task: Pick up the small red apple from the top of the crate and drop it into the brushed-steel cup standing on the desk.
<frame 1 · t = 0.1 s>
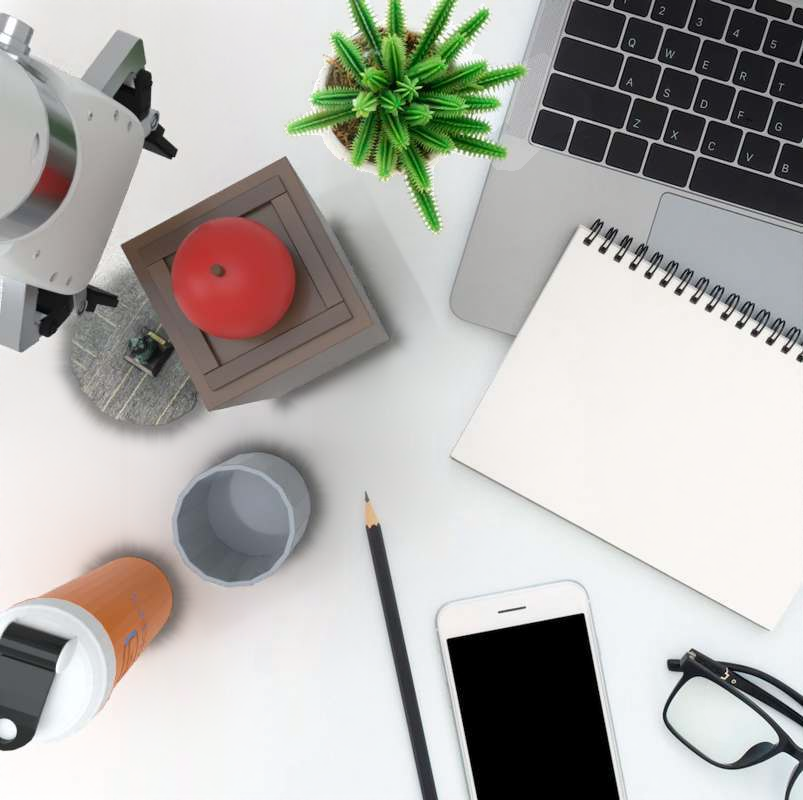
hand: (124, 220, 51), 17 cm above the table, tool pointing down, fingers open, 9 cm apart
steel cup: (257, 505, 69), on the table
apple: (246, 284, 44), point 24 cm above the table, touching crate
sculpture: (145, 351, 69), on the table
shaker bottle: (131, 597, 70), on the table
crate: (307, 313, 68), on the table
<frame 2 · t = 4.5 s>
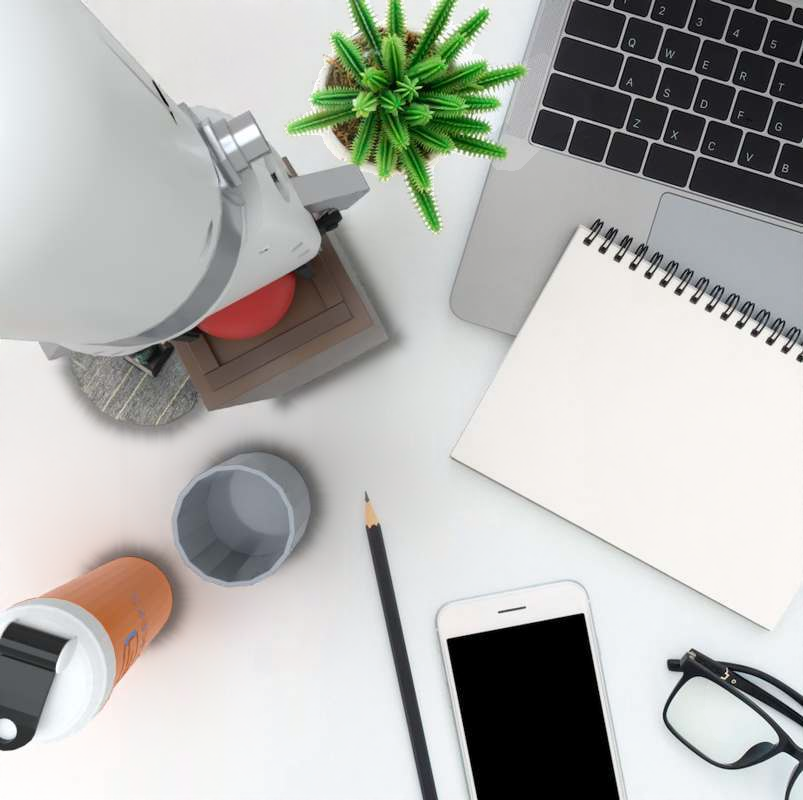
hand: (239, 281, 43), 26 cm above the table, tool pointing down, fingers closed on apple, 6 cm apart
apple: (246, 284, 44), point 24 cm above the table, touching gripper, crate
everything else where it was.
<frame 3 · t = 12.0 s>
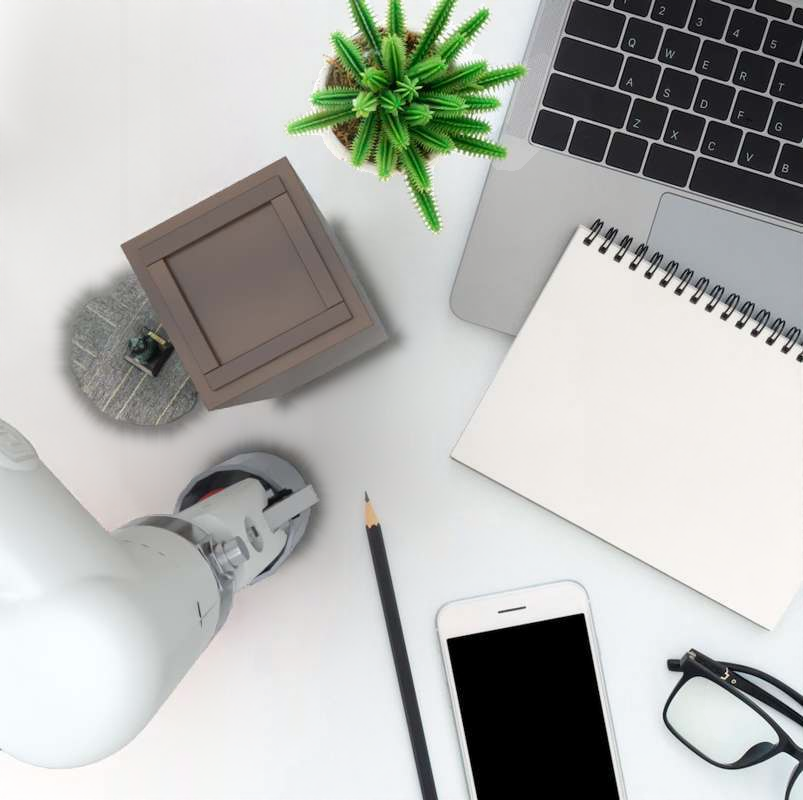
hand: (233, 525, 60), 9 cm above the table, tool pointing down, fingers closed on apple, 6 cm apart
apple: (239, 521, 62), point 7 cm above the table, touching gripper
everything else where it was.
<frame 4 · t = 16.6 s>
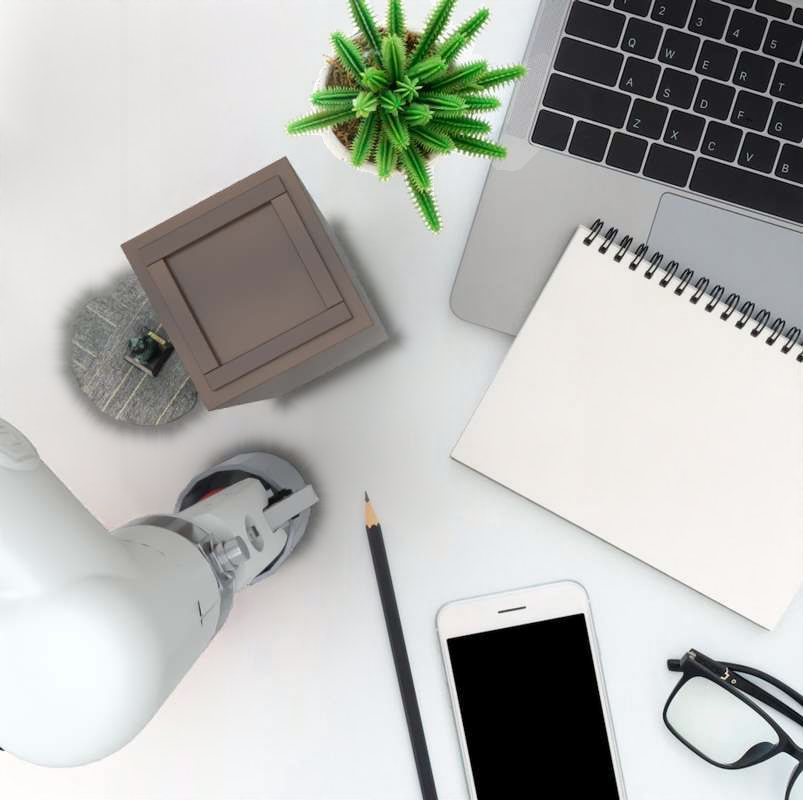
hand: (234, 525, 60), 9 cm above the table, tool pointing down, fingers closed on apple, 5 cm apart
apple: (240, 521, 62), point 7 cm above the table, touching gripper
everything else where it was.
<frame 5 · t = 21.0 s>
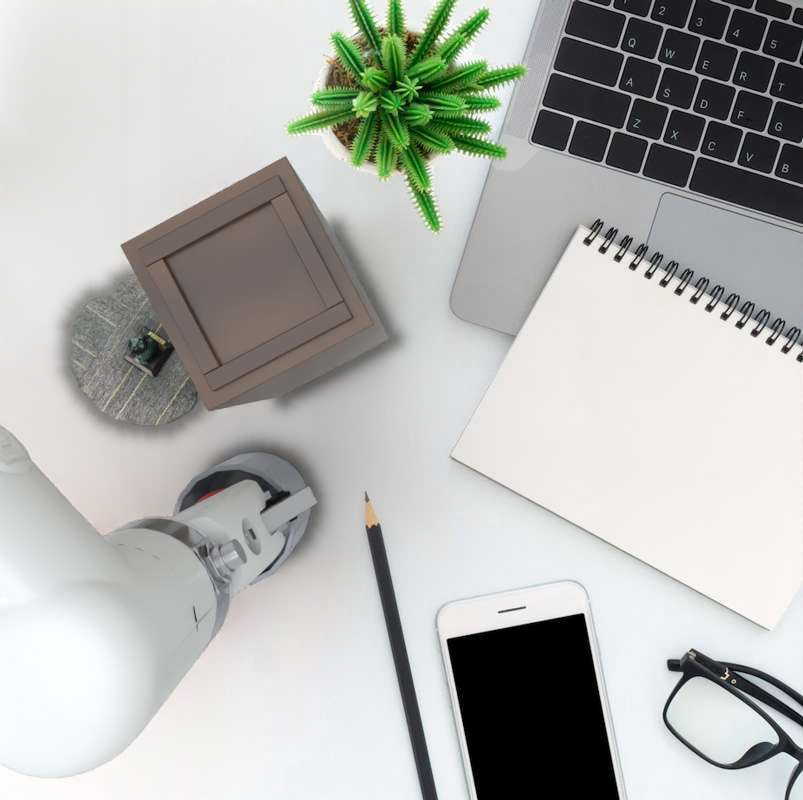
hand: (231, 527, 59), 10 cm above the table, tool pointing down, fingers closed on apple, 5 cm apart
apple: (237, 523, 61), point 8 cm above the table, touching gripper
everything else where it was.
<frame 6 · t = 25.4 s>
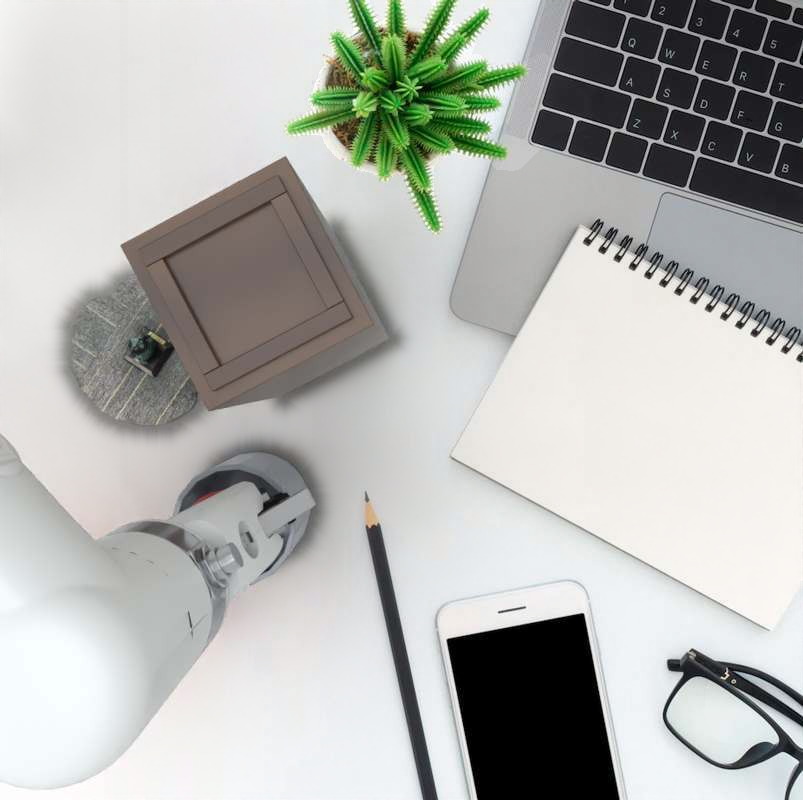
hand: (229, 530, 59), 10 cm above the table, tool pointing down, fingers closed on apple, 5 cm apart
apple: (235, 525, 60), point 9 cm above the table, touching gripper
everything else where it was.
when the fingers open (12 cm above the table, at t = 29.3 s): apple drops 9 cm, resting on steel cup.
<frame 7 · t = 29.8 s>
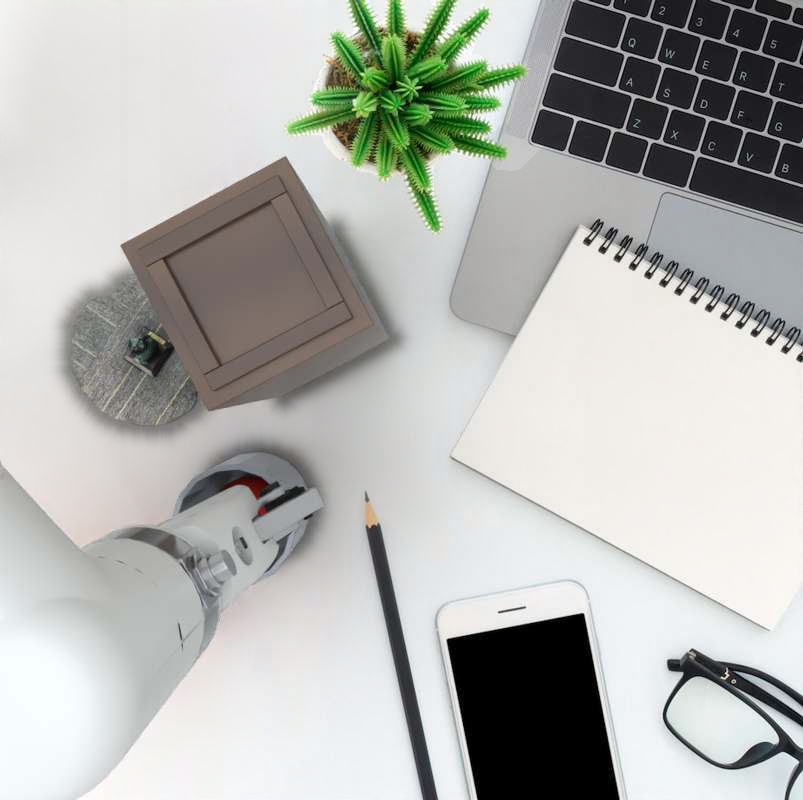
hand: (221, 536, 56), 13 cm above the table, tool pointing down, fingers open, 9 cm apart
apple: (255, 507, 68), point 1 cm above the table, touching steel cup
everything else where it was.
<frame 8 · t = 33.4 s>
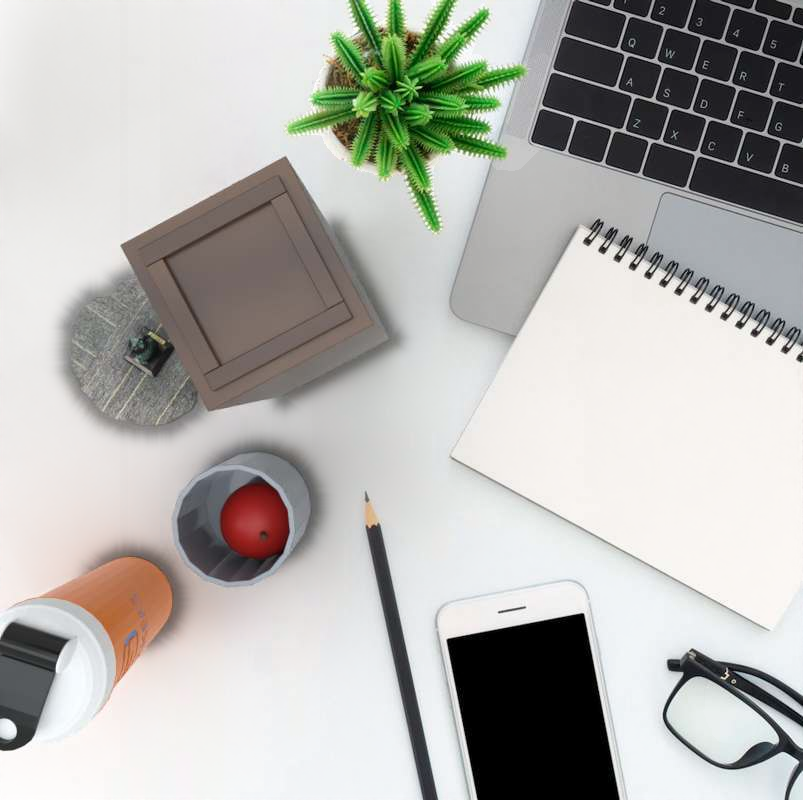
apple: (255, 507, 68), point 1 cm above the table, tilted 19°, touching steel cup
everything else where it was.
at the end: apple inside the target area in the steel cup (0.0 cm from its centre), point 0.8 cm above the steel cup's base; the gripper is holding nothing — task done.
